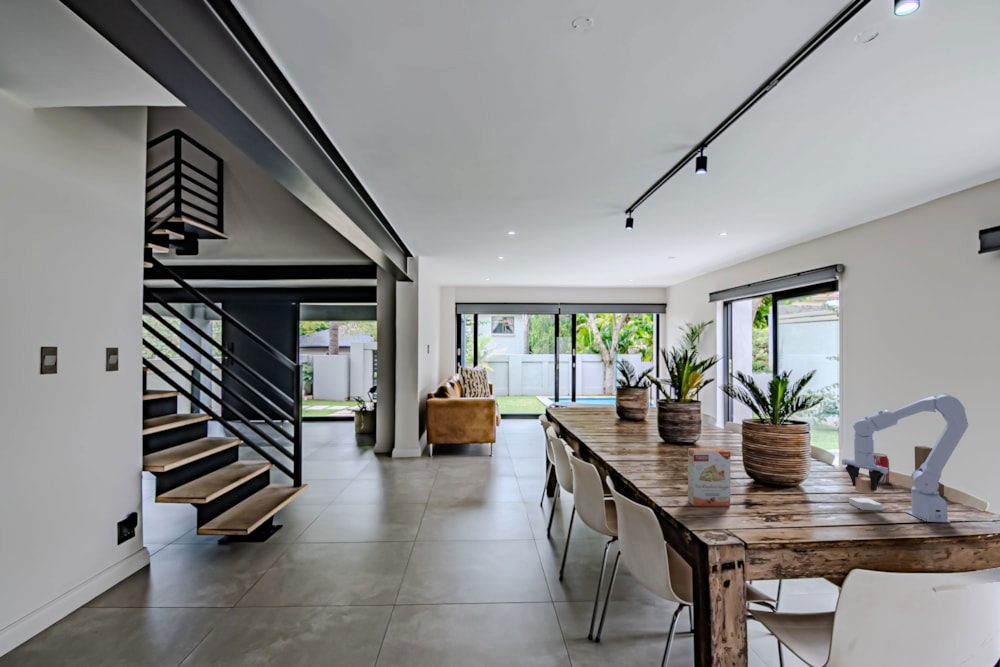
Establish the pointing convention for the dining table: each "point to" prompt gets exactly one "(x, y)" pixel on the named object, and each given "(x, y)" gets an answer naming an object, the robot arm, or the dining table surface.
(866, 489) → the column block
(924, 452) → the wooden block
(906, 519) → the dining table surface
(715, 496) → the cracker box
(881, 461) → the soda can
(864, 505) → the foundation slab
